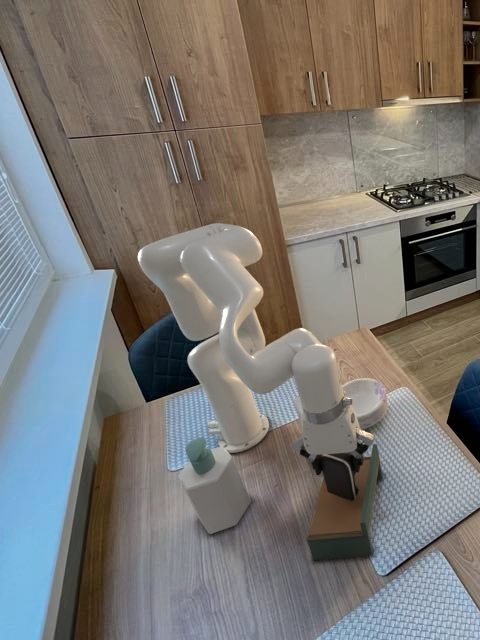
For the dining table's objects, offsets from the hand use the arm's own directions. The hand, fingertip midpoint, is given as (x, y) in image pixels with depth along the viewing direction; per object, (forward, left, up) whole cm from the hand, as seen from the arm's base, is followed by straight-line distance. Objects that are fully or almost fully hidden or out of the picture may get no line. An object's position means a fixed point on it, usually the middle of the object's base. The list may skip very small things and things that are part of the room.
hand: (339, 467), depth 84 cm
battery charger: (0, 0, -7) cm, 7 cm away
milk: (-10, +16, -16) cm, 25 cm away
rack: (0, 0, -16) cm, 16 cm away
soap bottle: (-29, +3, -16) cm, 33 cm away
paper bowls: (-2, +28, -16) cm, 32 cm away
